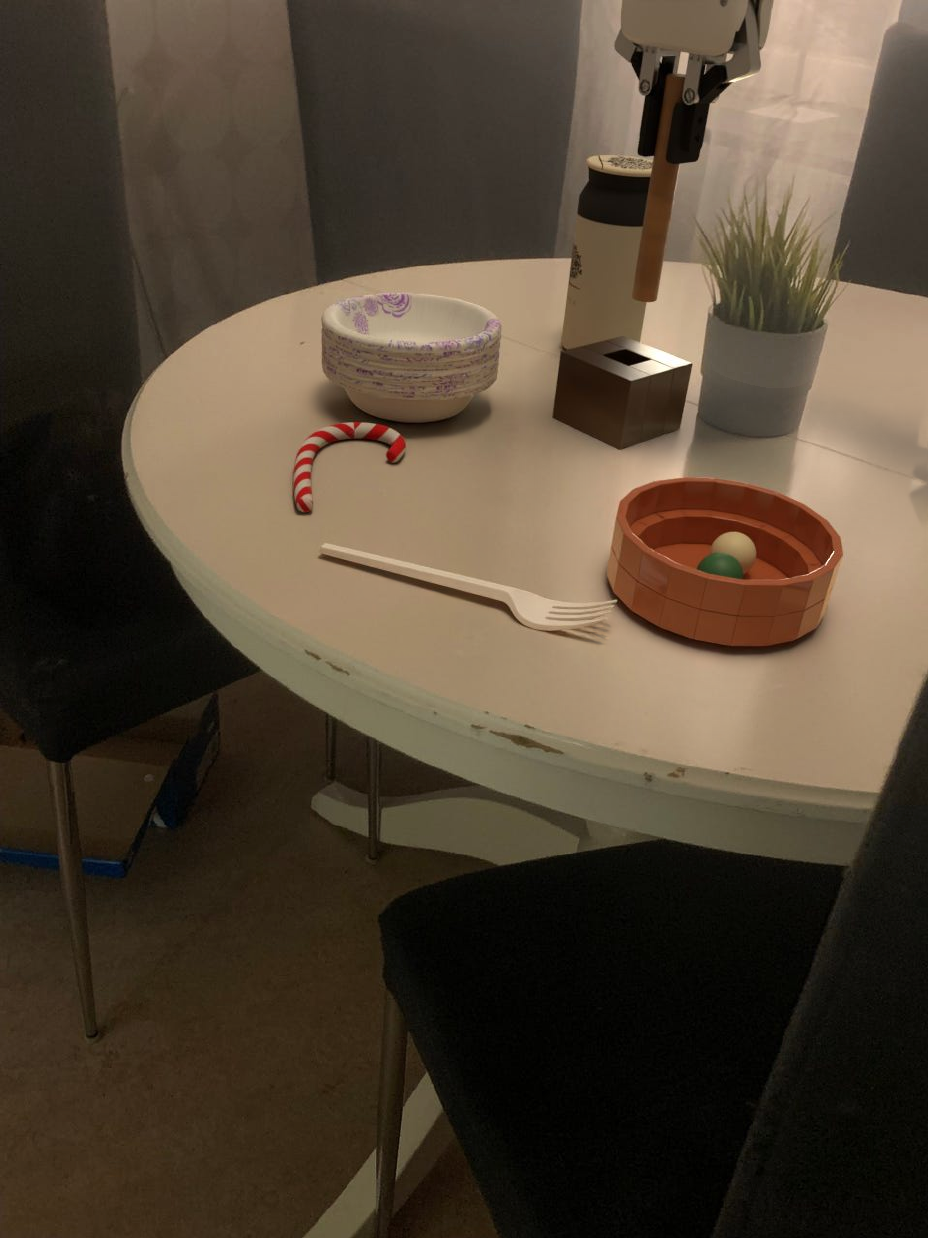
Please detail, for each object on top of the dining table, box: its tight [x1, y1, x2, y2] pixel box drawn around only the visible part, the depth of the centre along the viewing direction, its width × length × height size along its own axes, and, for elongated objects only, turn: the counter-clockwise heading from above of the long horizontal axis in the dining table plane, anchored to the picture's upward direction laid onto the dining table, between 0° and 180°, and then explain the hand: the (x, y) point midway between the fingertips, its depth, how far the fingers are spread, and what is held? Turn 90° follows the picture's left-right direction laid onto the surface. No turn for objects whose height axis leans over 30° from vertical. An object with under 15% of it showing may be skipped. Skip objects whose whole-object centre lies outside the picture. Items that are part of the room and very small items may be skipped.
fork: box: [318, 542, 618, 632], centre depth 69 cm, size 3×20×2 cm, turn 68°
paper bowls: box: [320, 292, 502, 424], centre depth 93 cm, size 15×15×8 cm
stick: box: [632, 73, 686, 303], centre depth 81 cm, size 2×2×16 cm
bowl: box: [606, 476, 844, 647], centre depth 70 cm, size 14×14×5 cm
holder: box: [552, 336, 694, 450], centre depth 93 cm, size 8×8×6 cm
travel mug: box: [560, 154, 653, 350], centre depth 106 cm, size 8×8×18 cm
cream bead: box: [710, 532, 756, 574], centre depth 72 cm, size 3×3×3 cm
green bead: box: [696, 553, 743, 580], centre depth 69 cm, size 3×3×3 cm
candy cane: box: [292, 421, 407, 513], centre depth 82 cm, size 8×1×15 cm
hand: (667, 156), depth 80 cm, fingers closed on stick, 2 cm apart
